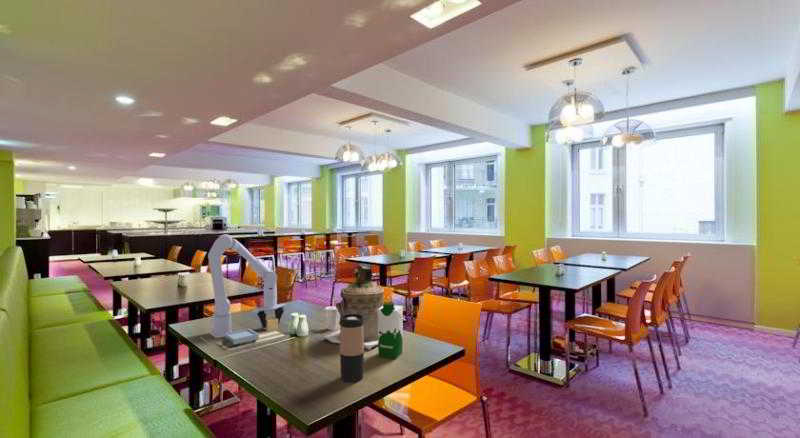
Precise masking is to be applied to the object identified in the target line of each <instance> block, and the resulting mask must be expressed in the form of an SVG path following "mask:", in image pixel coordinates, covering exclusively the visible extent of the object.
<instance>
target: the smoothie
mask: <svg viewBox="0 0 800 438" xmlns="http://www.w3.org/2000/svg"><path fill="white" fill-rule="evenodd" d="M324 311H325V315H326V323H327V330H330V331H335V330H337V325H338V316H339V312H338V310H337V308H336V305H335V298H332V305H331V306H326V307H325V309H324Z"/></svg>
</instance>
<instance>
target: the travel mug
mask: <svg viewBox="0 0 800 438" xmlns="http://www.w3.org/2000/svg"><path fill="white" fill-rule="evenodd" d="M339 321H340V325H339V326H340V327H339V330H340V344H339V357H340V360H339V361H340V380H341V381H342V382H344V383H349V384H350V383H352V384H353V383H354V384H355V383H358V382H361V381H362V380H363V378H364V361H365V360H364V355H365V350H364V349H365V348H364V333H363V316H362V315H359V314H347V315H343V316H341V317H339Z"/></svg>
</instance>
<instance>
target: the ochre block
mask: <svg viewBox="0 0 800 438" xmlns="http://www.w3.org/2000/svg"><path fill="white" fill-rule="evenodd" d="M262 329H263V330H265V331H270V330H279V325H278V318H275V316H270V317H266V328H263V327H262Z"/></svg>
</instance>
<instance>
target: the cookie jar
mask: <svg viewBox="0 0 800 438" xmlns="http://www.w3.org/2000/svg"><path fill="white" fill-rule="evenodd" d="M352 276H353V277H355V279H354V280H353V282H351V283H349V284H348V285H347V286H346V287H342V288H341V290H340V297H341V300H340V302H336V303H335V306H336V308H337V310H338V315H339V316H340V317H341V316H343V315H347V314H359V315H362V316H363V333H364V349H366V350H369V351H371V350H372V348H373V347H374V348H375V347H376V346H378V310H377V309H379V308H380V307H381V306H383V303H384V295H385V289H384V288H383V287H377V286H376V285H374V284H373V282H372V281H373V270H372V268H370V267H369V266H365V265H361V264H358V265H357V266H356V268H355V269H353V274H352ZM340 317H339V318H340ZM338 324H339V326H340V320H339V322H338ZM322 338H323V339H325V340H327V341H329V342H330V343H333V344H339V345H340V329H339V330H337V331H335V332H331V333H330V334H327V335H326V334H325V335H324V336H322Z"/></svg>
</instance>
